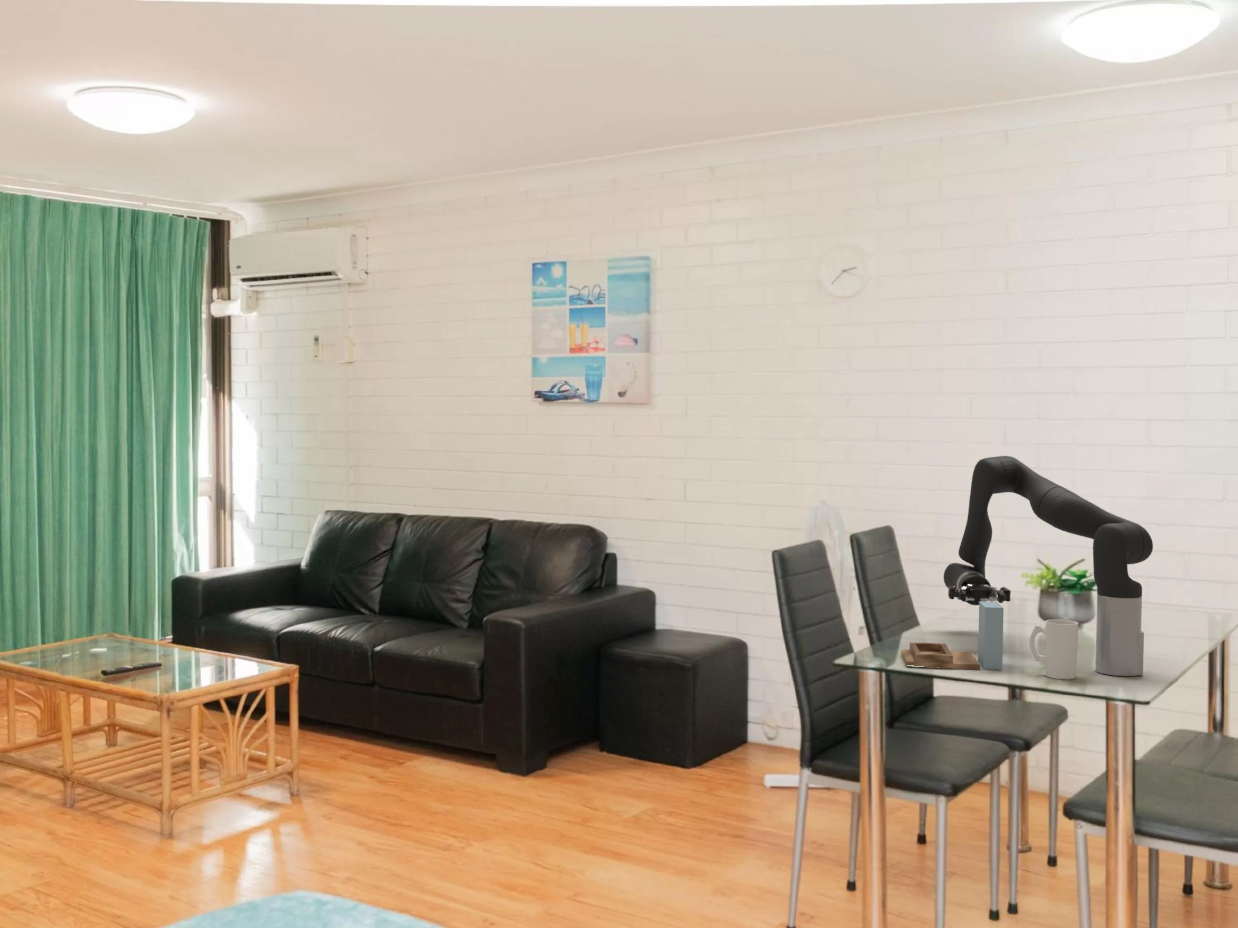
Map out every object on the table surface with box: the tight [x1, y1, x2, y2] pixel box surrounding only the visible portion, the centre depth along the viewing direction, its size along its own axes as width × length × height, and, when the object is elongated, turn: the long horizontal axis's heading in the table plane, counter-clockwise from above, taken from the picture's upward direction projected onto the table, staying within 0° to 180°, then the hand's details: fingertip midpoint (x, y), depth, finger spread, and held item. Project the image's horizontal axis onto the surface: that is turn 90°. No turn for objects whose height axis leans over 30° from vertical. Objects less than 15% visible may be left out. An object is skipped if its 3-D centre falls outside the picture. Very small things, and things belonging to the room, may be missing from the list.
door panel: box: [977, 601, 1004, 671], centre depth 278 cm, size 4×9×14 cm, turn 172°
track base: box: [900, 641, 981, 671], centre depth 282 cm, size 16×15×3 cm
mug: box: [1029, 619, 1079, 680], centre depth 267 cm, size 10×7×12 cm, turn 60°
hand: (983, 597), depth 289 cm, fingers open, 8 cm apart
